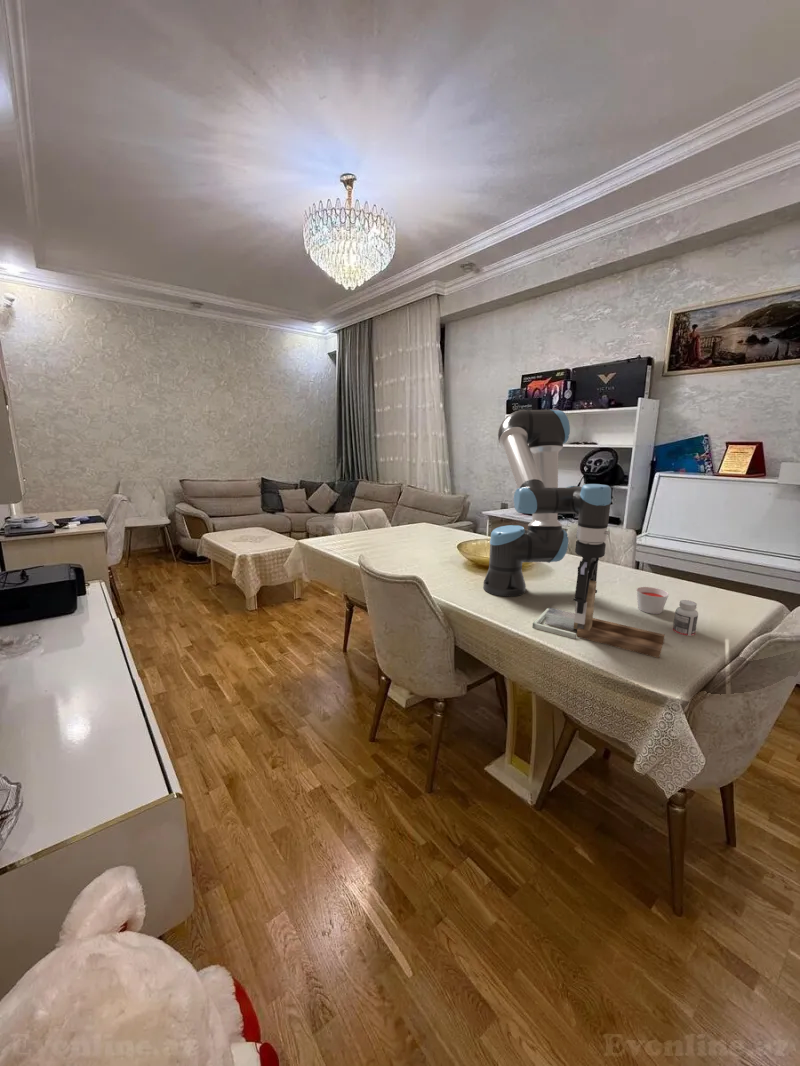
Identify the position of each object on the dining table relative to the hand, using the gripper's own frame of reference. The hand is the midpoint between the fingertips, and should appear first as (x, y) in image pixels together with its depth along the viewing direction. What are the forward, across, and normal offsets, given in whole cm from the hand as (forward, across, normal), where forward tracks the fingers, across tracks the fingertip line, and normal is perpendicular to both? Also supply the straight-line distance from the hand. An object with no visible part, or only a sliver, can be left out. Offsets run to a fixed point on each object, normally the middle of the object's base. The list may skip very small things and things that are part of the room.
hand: (583, 618), depth 124 cm
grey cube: (+4, 0, +8) cm, 9 cm away
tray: (+5, 0, +6) cm, 8 cm away
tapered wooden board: (+3, 0, 0) cm, 3 cm away
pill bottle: (+5, +16, -24) cm, 29 cm away
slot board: (+5, 0, -10) cm, 11 cm away
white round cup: (+5, +30, -14) cm, 33 cm away
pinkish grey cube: (+4, 0, +4) cm, 5 cm away
